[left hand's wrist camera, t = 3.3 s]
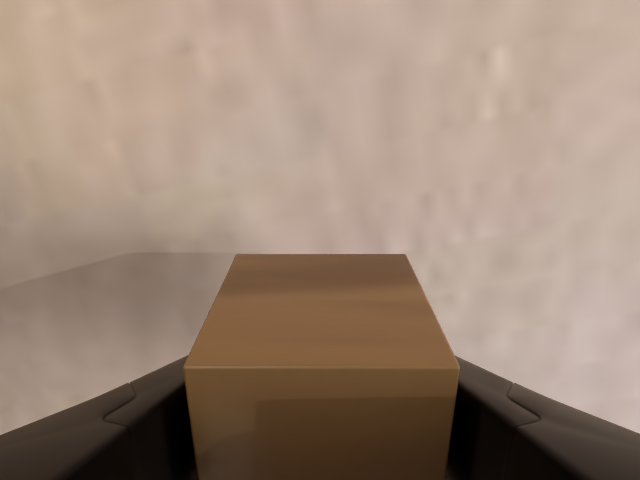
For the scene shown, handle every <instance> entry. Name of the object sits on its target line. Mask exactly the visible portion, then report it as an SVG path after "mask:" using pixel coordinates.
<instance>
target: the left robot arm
mask: <svg viewBox="0 0 640 480" xmlns="http://www.w3.org/2000/svg"><path fill="white" fill-rule="evenodd" d="M188 356H189V355H188ZM188 356H186V357H183V358H181V359H179V360H177V361H175V362H173V363H171V364H168V365H166V366H164V367H162V368H160V369H158V370H156V371H153V372H151V373H149V374H147V375H145V376H143V377H141V378H138V379H136V380H134V381H132V382H130V383H127V384H124V385H122V386H120V387H118V388H116V389H114V390H111V391H109V392H107V393H105V394H102V395H100V396H98V397H95V398H93V399H90V400H88V401H86V402H83V403H81V404H78V405H76V406H73V407H71V408H68V409H66V410H63V411H61V412H58V413H55V414H53V415H50V416H48V417H45V418H43V419H40V420H38V421H35V422H33V423H30V424H28V425H25V426H23V427H20V428H17V429H15V430H12V431H10V432H7V433H5V434H2V435H0V480H198V478H197V470H196V463H195V455H194V447H193V440H192V432H191V424H190V417H189V409H188V402H187V394H186V386H185V379H184V371H183V366H184V364H185V362H186V360H187V358H188ZM455 358H456V360H457V362H458V364H459V366H460V371H459V379H458V387H457V394H456V402H455V409H454V417H453V424H452V432H451V439H450V447H449V455H448V462H447V470H446V477H445V480H640V434H639V433H636V432H634V431H631V430H629V429H626V428H624V427H621V426H618V425H616V424H613V423H611V422H608V421H606V420H603V419H601V418H598V417H595V416H593V415H590V414H588V413H585V412H583V411H580V410H578V409H575V408H573V407H570V406H567V405H565V404H562V403H560V402H558V401H555V400H553V399H550V398H548V397H545V396H543V395H541V394H538V393H536V392H534V391H532V390H529V389H527V388H525V387H523V386H521V385H518V384H516V383H514V384H513V382H511V381H508V380H506V379H504V378H502V377H500V376H498V375H496V374H493V373H491V372H489V371H487V370H485V369H483V368H480V367H478V366H476V365H474V364H472V363H470V362H467V361H465V360H463V359H461V358H459V357H457V356H455Z"/></svg>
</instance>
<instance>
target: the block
mask: <svg viewBox="0 0 640 480" xmlns="http://www.w3.org/2000/svg"><path fill="white" fill-rule="evenodd" d="M183 371H184V379H185V386H186V394H187V402H188V409H189V417H190V424H191V432H192V440H193V447H194V455H195V463H196V470H197V478H198V480H445V477H446V470H447V462H448V455H449V447H450V439H451V432H452V424H453V417H454V409H455V402H456V394H457V387H458V379H459V371H460V366H459V364H458V362H457V360H456V358H455V356H454V354H453V351H452V349H451V347H450V345H449V343H448V341H447V339H446V337H445V335H444V333H443V331H442V329H441V327H440V325H439V323H438V320H437V318H436V316H435V314H434V312H433V310H432V308H431V306H430V304H429V302H428V300H427V298H426V296H425V294H424V291H423V289H422V287H421V285H420V283H419V281H418V279H417V277H416V275H415V273H414V271H413V269H412V267H411V265H410V263H409V260H408V258H407V256H406V255H405V254H237V255H236V256H235V258H234V261H233V263H232V265H231V267H230V269H229V271H228V273H227V275H226V277H225V280H224V282H223V284H222V286H221V288H220V290H219V292H218V294H217V296H216V299H215V301H214V303H213V305H212V307H211V309H210V311H209V313H208V316H207V318H206V320H205V322H204V324H203V326H202V328H201V330H200V332H199V335H198V337H197V339H196V341H195V343H194V345H193V347H192V349H191V351H190V354H189V356H188V358H187V360H186V362H185V364H184V366H183Z"/></svg>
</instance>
